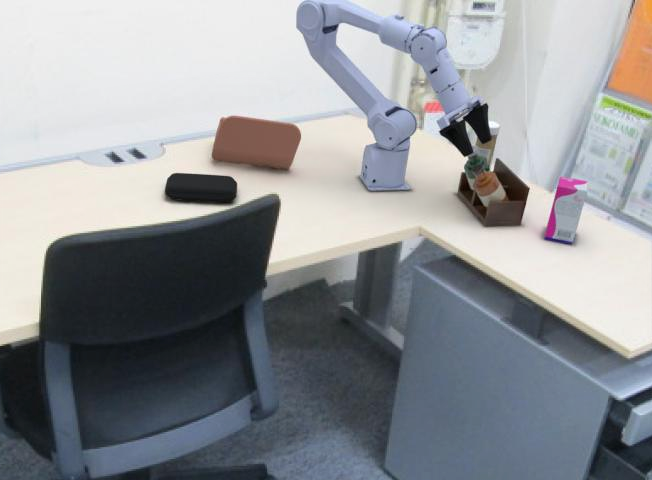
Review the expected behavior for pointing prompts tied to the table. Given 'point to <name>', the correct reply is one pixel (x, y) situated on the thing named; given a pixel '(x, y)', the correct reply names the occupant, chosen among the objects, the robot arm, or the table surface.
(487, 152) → the sprinkles bottle
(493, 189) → the amber bottle
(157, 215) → the table surface
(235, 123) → the brown block
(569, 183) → the supplement box
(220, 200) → the carrying case
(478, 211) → the rack
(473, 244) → the table surface
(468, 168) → the dark green bottle
